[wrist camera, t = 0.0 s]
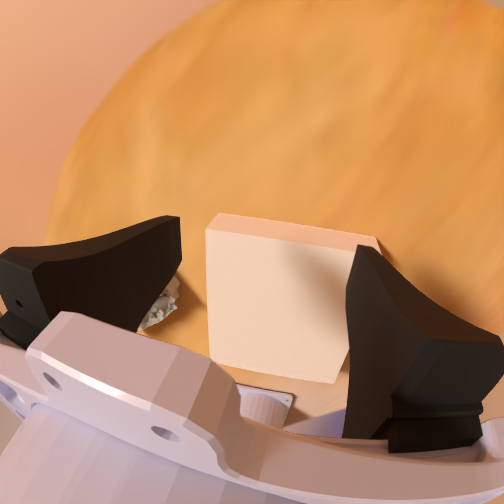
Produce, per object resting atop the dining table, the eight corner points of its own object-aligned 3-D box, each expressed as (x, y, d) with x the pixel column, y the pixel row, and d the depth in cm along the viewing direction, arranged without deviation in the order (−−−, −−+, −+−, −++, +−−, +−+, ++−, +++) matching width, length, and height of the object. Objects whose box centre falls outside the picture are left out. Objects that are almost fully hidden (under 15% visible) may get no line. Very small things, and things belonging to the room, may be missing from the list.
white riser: (334, 360, 28) (333, 383, 25) (219, 340, 29) (210, 361, 27) (375, 236, 21) (382, 256, 18) (219, 212, 22) (205, 228, 20)
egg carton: (132, 321, 32) (114, 345, 29) (91, 272, 30) (69, 293, 26) (194, 295, 27) (177, 324, 24) (146, 232, 25) (121, 254, 22)
